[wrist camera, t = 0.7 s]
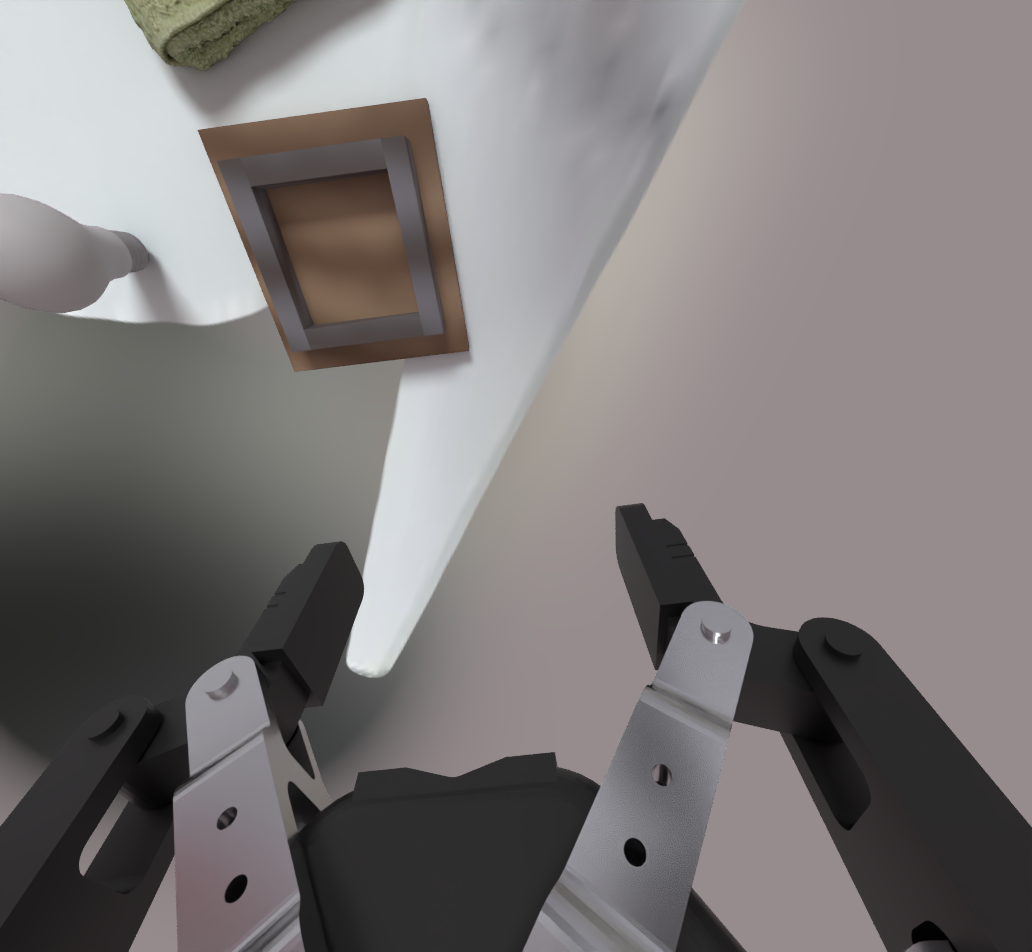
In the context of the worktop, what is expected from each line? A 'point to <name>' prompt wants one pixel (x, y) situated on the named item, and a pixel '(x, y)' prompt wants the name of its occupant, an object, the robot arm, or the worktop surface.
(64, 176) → the worktop surface
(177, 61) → the washcloth
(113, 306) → the worktop surface
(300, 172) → the socket stand
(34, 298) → the lightbulb
